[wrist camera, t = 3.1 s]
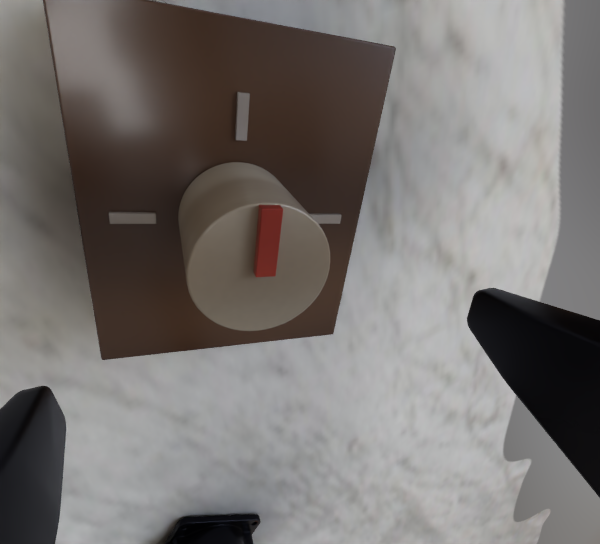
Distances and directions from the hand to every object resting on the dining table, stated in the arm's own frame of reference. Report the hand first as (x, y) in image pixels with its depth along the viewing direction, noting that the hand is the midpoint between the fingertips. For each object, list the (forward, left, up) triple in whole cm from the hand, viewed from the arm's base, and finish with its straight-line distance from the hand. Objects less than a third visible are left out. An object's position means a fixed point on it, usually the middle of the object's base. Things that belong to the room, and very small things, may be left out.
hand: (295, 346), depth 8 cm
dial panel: (0, 0, -10) cm, 10 cm away
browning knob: (0, 0, -7) cm, 7 cm away
